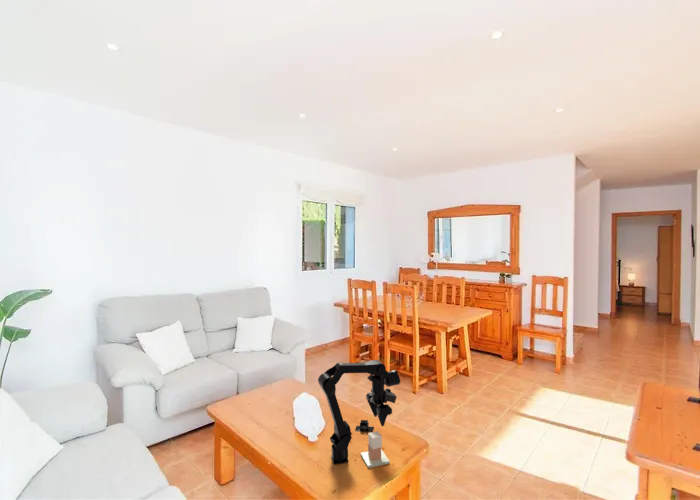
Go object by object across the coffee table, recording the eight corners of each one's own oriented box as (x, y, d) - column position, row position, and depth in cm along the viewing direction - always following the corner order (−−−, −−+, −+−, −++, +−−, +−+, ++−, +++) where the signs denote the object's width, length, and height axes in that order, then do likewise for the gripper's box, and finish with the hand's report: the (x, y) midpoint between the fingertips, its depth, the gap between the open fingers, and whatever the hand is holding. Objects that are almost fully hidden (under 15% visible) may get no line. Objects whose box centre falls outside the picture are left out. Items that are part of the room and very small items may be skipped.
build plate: (367, 468, 157) (367, 465, 157) (360, 454, 166) (360, 452, 166) (389, 463, 160) (389, 461, 160) (381, 450, 169) (381, 448, 169)
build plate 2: (351, 433, 187) (351, 424, 186) (353, 425, 194) (353, 417, 194) (375, 434, 184) (375, 425, 184) (377, 427, 192) (376, 418, 191)
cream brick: (372, 449, 160) (372, 438, 160) (368, 444, 164) (368, 433, 164) (382, 447, 162) (381, 435, 162) (377, 441, 166) (377, 431, 166)
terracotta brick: (371, 460, 160) (371, 449, 160) (368, 455, 165) (368, 444, 164) (381, 458, 162) (380, 447, 161) (377, 453, 166) (377, 442, 166)
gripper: (402, 393, 164) (403, 428, 164) (386, 378, 181) (387, 409, 182) (379, 397, 160) (380, 432, 161) (365, 381, 178) (366, 413, 179)
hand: (379, 421), depth 171 cm, fingers open, 9 cm apart
